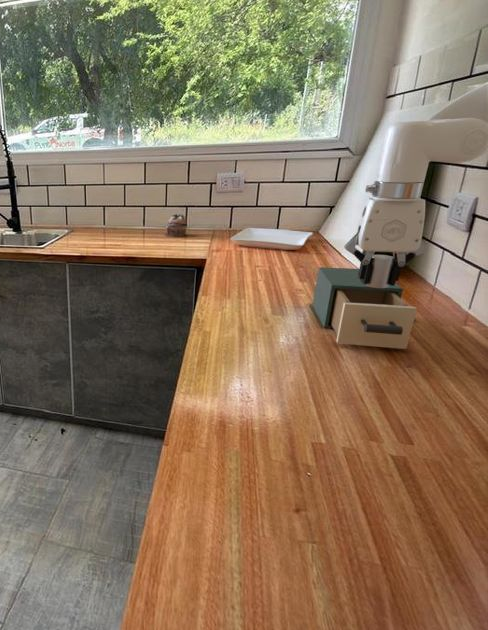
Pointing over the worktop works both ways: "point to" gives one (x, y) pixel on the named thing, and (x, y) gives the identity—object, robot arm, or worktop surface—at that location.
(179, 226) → the cupcake
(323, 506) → the worktop surface
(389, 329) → the drawer
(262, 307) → the worktop surface
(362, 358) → the worktop surface
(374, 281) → the steel cylinder
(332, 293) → the cabinet
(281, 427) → the worktop surface
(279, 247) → the square plate
